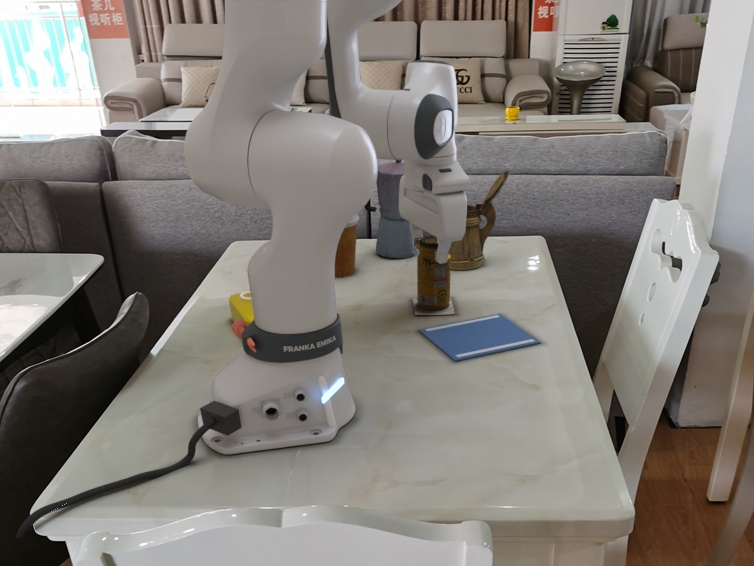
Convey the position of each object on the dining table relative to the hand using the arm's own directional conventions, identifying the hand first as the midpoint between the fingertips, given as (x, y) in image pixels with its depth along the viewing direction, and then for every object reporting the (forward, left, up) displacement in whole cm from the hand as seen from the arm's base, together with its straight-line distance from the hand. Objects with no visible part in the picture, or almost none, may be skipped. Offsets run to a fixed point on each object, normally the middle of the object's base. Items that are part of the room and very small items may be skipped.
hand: (429, 255), depth 139 cm
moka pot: (+6, +32, -10) cm, 34 cm away
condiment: (0, 0, -10) cm, 10 cm away
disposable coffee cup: (-9, +26, -10) cm, 29 cm away
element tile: (-28, +4, -10) cm, 30 cm away
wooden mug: (+18, +18, -10) cm, 28 cm away
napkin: (+1, -17, -10) cm, 19 cm away
